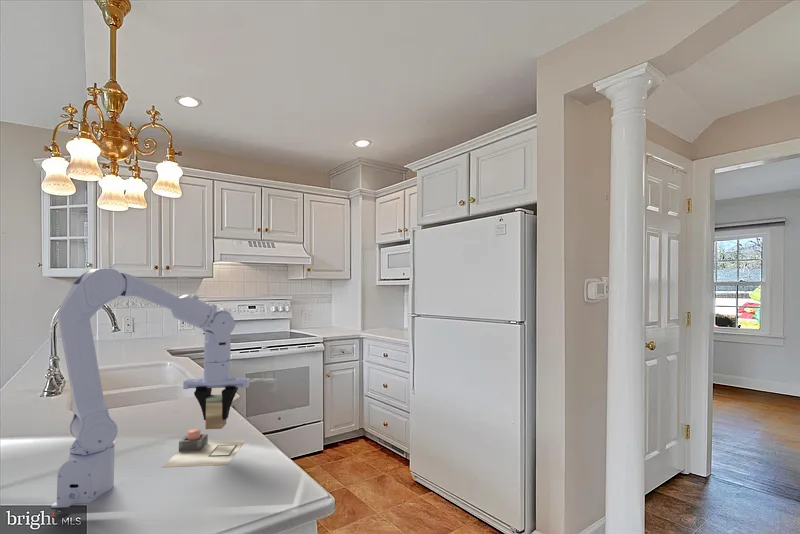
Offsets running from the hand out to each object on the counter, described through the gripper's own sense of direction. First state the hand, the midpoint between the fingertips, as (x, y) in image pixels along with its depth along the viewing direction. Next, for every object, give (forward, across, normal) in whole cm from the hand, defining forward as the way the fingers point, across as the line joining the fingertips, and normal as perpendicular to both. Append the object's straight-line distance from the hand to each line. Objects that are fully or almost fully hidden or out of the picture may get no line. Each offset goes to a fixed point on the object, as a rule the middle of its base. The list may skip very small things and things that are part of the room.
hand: (216, 418), depth 103 cm
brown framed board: (+9, +2, -2) cm, 10 cm away
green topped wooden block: (+2, 0, 0) cm, 2 cm away
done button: (+7, +7, -5) cm, 11 cm away
